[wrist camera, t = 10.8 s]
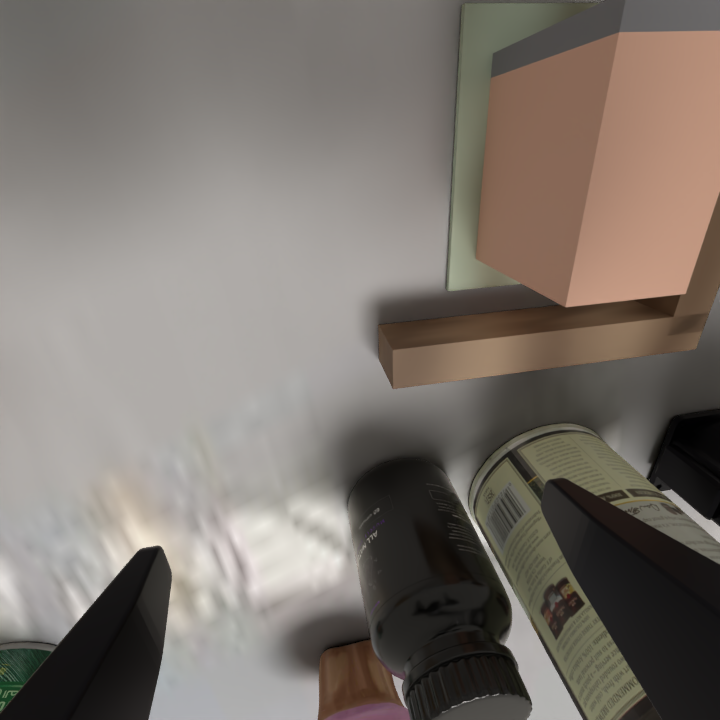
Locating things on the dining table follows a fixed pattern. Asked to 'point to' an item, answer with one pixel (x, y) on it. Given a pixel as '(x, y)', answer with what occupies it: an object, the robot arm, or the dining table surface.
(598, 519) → the robot arm
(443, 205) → the dining table surface
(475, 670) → the supplement bottle
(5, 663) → the canned tomato
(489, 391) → the dining table surface
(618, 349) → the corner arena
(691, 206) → the terracotta block
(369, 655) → the cupcake
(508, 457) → the coffee can
